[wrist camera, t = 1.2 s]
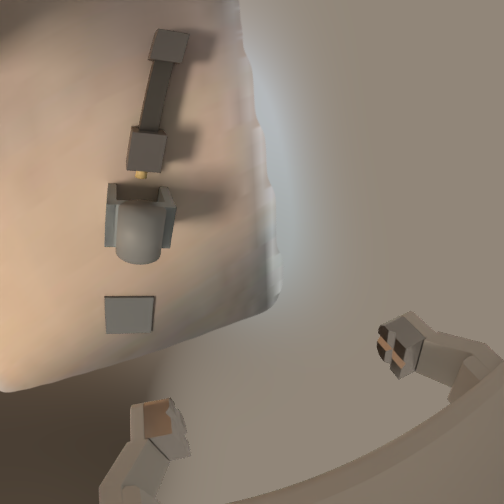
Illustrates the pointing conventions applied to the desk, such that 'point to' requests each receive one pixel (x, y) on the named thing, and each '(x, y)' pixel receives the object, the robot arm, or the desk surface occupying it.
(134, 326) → the pad
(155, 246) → the housing
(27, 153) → the desk surface
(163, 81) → the grey long block-ended bar
